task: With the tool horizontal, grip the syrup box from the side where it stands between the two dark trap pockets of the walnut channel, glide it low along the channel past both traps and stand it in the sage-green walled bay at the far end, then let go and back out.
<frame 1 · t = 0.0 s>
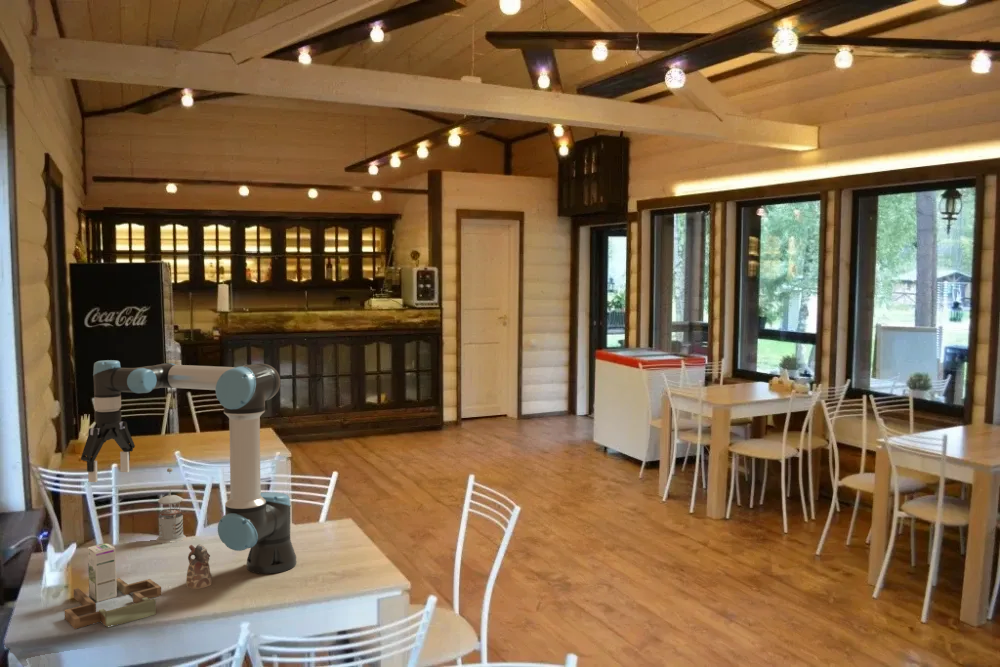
hand: (109, 476, 251), 28 cm above the table, tool pointing down, fingers open, 13 cm apart
figurine: (199, 585, 237), on the table
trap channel: (113, 605, 221), on the table
syrup box: (102, 597, 227), on the table
french press: (172, 538, 279), on the table
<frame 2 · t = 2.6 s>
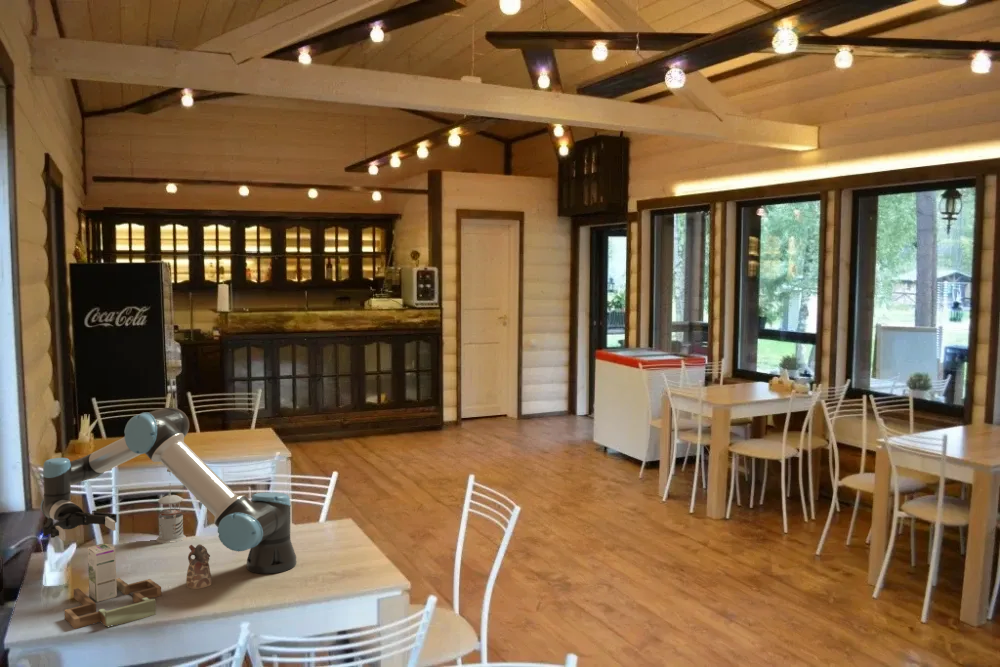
hand: (89, 530, 232), 17 cm above the table, tool horizontal, fingers open, 13 cm apart
nothing on the table moved.
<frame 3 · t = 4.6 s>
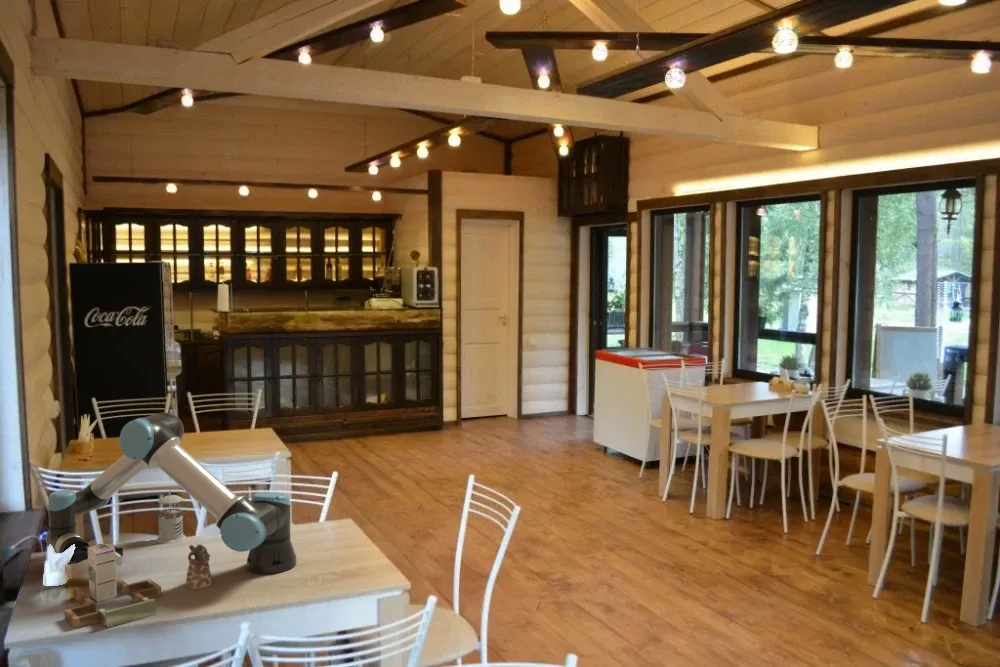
hand: (95, 566, 229), 8 cm above the table, tool horizontal, fingers open, 13 cm apart
nothing on the table moved.
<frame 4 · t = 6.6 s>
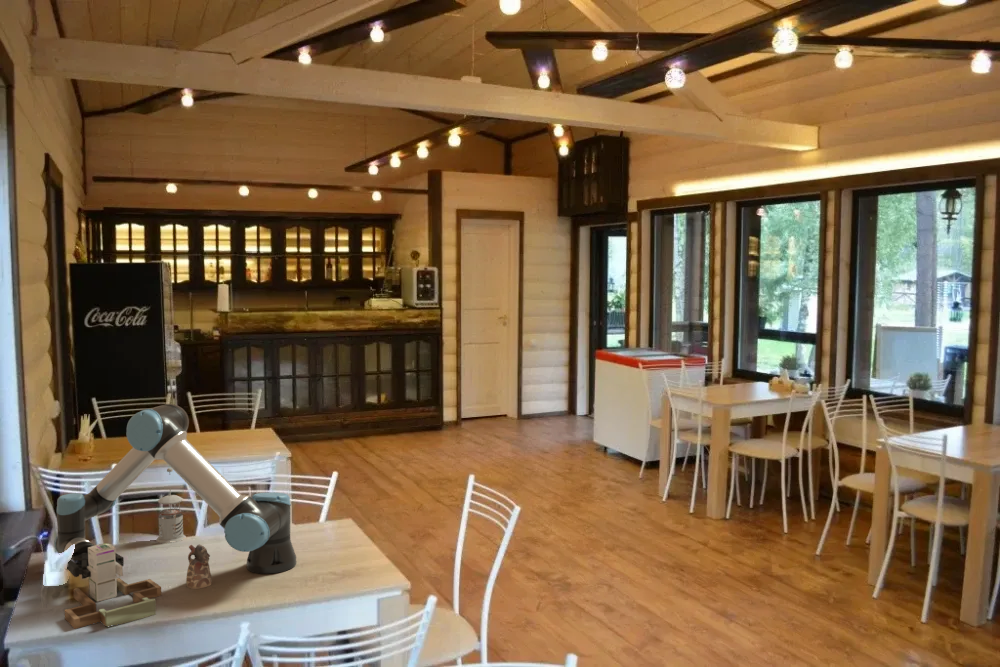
hand: (108, 574, 222), 8 cm above the table, tool horizontal, fingers closed on syrup box, 6 cm apart
syrup box: (102, 597, 227), on the table, touching gripper
everything else where it was.
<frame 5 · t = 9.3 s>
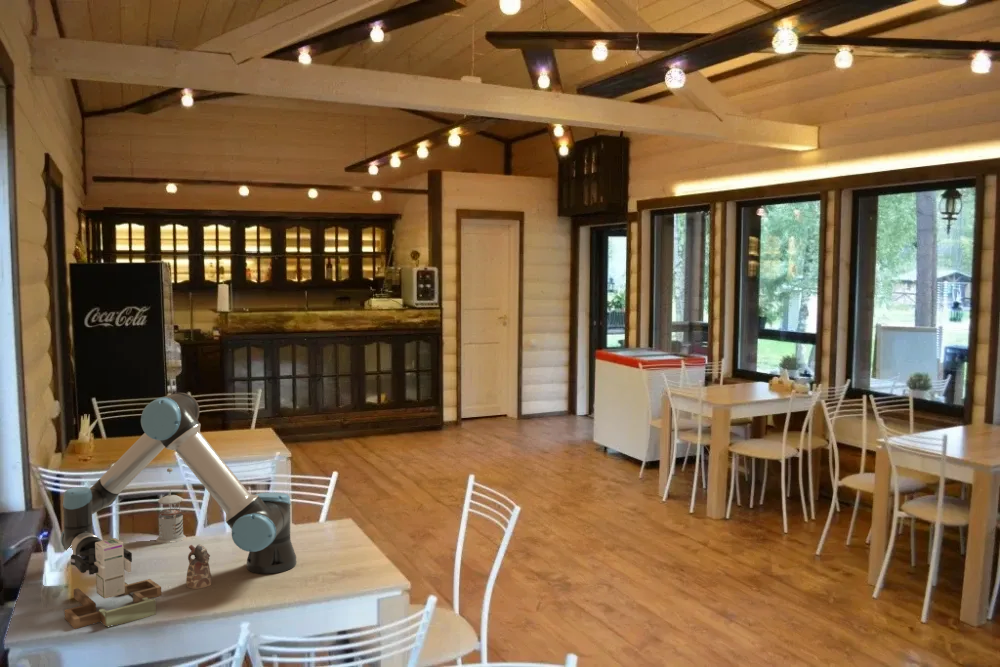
hand: (116, 569, 215), 12 cm above the table, tool horizontal, fingers closed on syrup box, 6 cm apart
syrup box: (110, 594, 219), point 4 cm above the table, touching gripper
everything else where it was.
when the fingers open (8 cm above the table, at t = 12.0 s): syrup box stays where it is, on the table.
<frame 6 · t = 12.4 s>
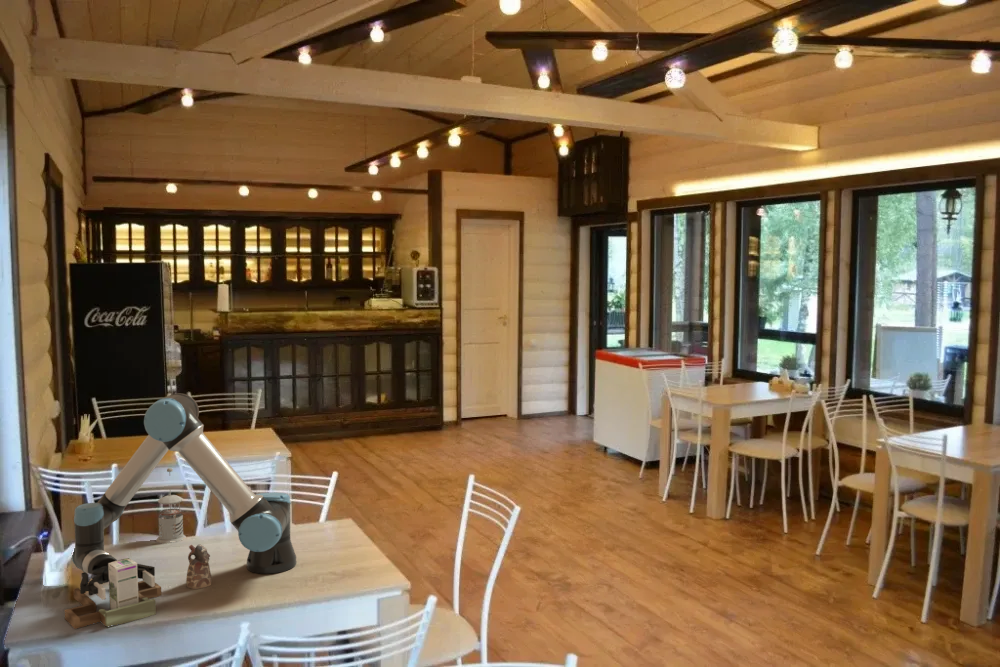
hand: (129, 587, 211), 8 cm above the table, tool horizontal, fingers open, 12 cm apart
syrup box: (124, 615, 214), on the table
everything else where it was.
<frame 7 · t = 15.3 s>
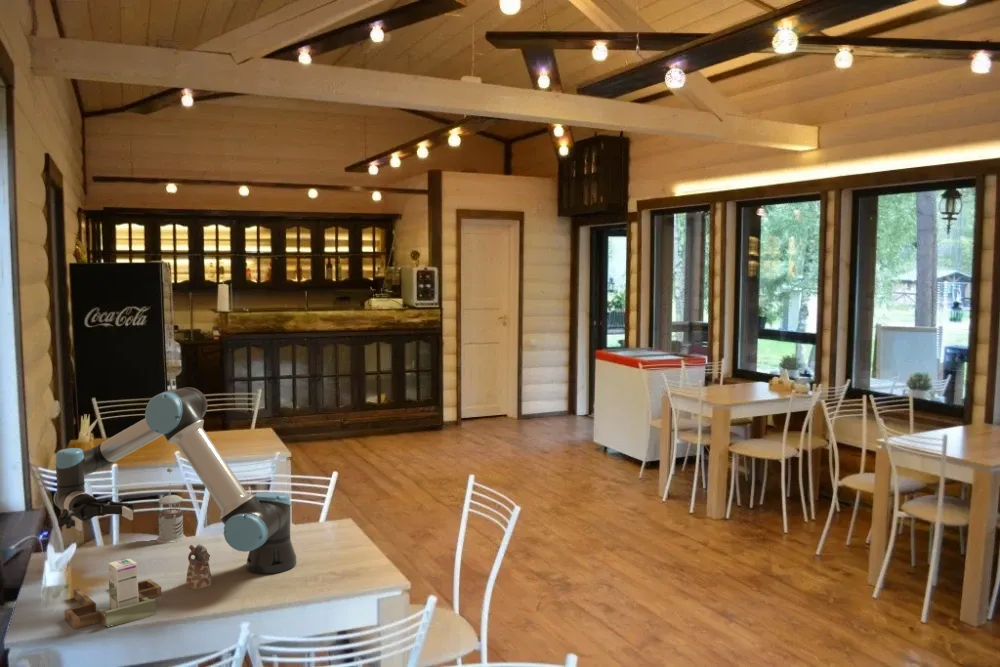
hand: (106, 520, 224), 22 cm above the table, tool horizontal, fingers open, 13 cm apart
nothing on the table moved.
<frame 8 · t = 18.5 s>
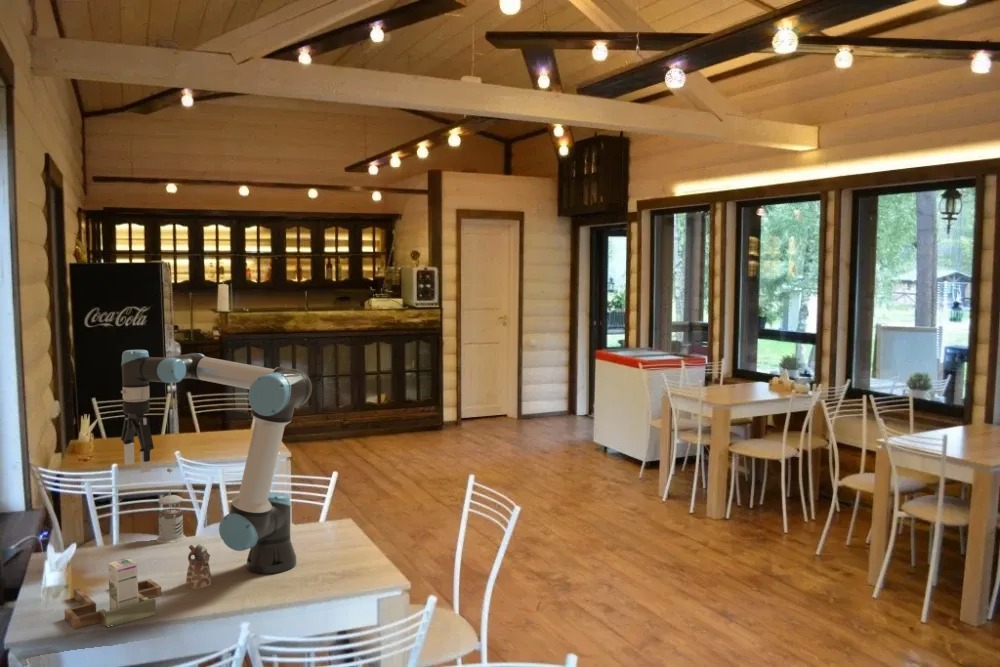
hand: (137, 468, 247), 32 cm above the table, tool pointing down, fingers open, 13 cm apart
nothing on the table moved.
at the end: syrup box inside the target area (0.1 cm from its centre), on the table; syrup box tilted 0°; the gripper is holding nothing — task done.
